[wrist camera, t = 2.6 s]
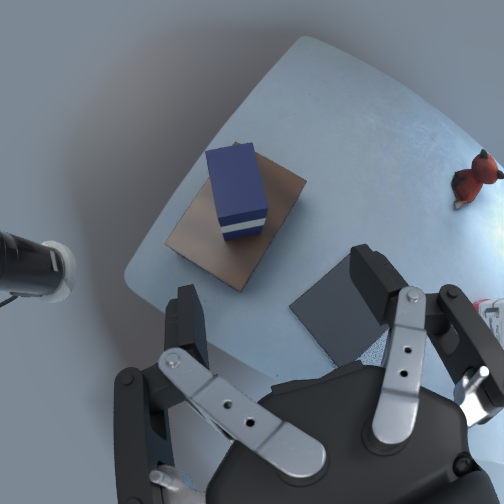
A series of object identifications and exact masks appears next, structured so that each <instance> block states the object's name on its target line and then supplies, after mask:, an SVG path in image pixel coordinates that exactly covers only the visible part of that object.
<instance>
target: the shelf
mask: <svg viewBox="0 0 504 504" xmlns="http://www.w3.org/2000/svg"><path fill="white" fill-rule="evenodd" d="M234 145H240V144H239V143H237V142H235V143H234V144H233V145H232V146H234ZM255 155H256V159H257V163H258V167H259V171H260V175H261V179H262V183H263V187H264V191H265V195H266V199H267V203H268V207H269V208H268V212H267V215H266V219H265V223H264V226H263V229H262V233H260V234H255V235H250V236H245V237H241V238H236V239H231V240H226V241H224V238H223V234H222V232H221V228H220V224H219V221H218V217H217V212H216V207H215V202H214V196H213V191H212V186H211V180H210V177H209V178H208V180H207V181H206V183H205V184H204V185H203V187H202V188H201V190H200V191H199V193H198V194H197V195H196V197H195V198H194V200H193V201H192V203H191V204H190V206H189V207H188V209H187V210H186V212H185V213H184V215H183V216H182V218H181V219H180V221H179V222H178V224H177V225H176V227H175V228H174V230H173V231H172V233H171V234H170V236H169V238H168V239H167V241H166V242H165V245H167V246H168V247H169V248H171V249H172V250H173V251H175V252H176V253H178V254H179V255H181V256H182V257H184V258H186V259H187V260H189V261H190V262H192V263H193V264H195V265H197V266H198V267H200V268H201V269H203V270H205V271H206V272H208V273H209V274H211V275H213V276H214V277H216V278H217V279H219V280H221V281H222V282H224V283H225V284H227V285H229V286H230V287H232V288H234V289H235V290H237V291H238V292H240V293H241V291H242V290H243V288H244V287H245V285H246V283H247V282H248V280H249V278H250V277H251V275H252V273H253V272H254V270H255V269H256V267H257V265H258V264H259V262H260V260H261V259H262V257H263V255H264V254H265V252H266V250H267V249H268V247H269V245H270V244H271V242H272V240H273V239H274V237H275V235H276V234H277V232H278V230H279V229H280V227H281V226H282V224H283V222H284V221H285V219H286V217H287V216H288V214H289V212H290V211H291V209H292V207H293V206H294V204H295V202H296V200H297V199H298V197H299V195H300V193H301V191H302V190H303V188H304V186H305V184H306V182H307V181H306V180H304V179H303V178H301V177H299V176H298V175H296V174H294V173H292V172H291V171H289V170H287V169H285V168H284V167H282V166H280V165H278V164H276V163H275V162H273V161H271V160H269V159H267V158H266V157H264V156H262V155H260V154H258V153H256V152H255Z"/></svg>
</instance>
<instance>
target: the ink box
mask: <svg viewBox="0 0 504 504" xmlns="http://www.w3.org/2000/svg"><path fill="white" fill-rule="evenodd" d="M472 305H473V306H474V307H475V309H476V310H477V311H478V313H479V314H480V316H481V317H482V318H483V320H484V321H485V323H486V324H487V325H488V327H489V328H490V330H491V331H492V333H493V334H494V336H495V337H496V339H497V340H498V342H499V343H500V345H501V346H502V348H504V299H486V300H481V301H478V302H475V303H473V304H472Z"/></svg>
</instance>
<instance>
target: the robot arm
mask: <svg viewBox="0 0 504 504" xmlns="http://www.w3.org/2000/svg"><path fill="white" fill-rule="evenodd" d="M349 273H350V278H351V280H352V282H353V284H354V285H355V287H356V288H357V290H358V291H359V293H360V295H361V296H362V298H363V299H364V301H365V303H366V304H367V306H368V307H369V309H370V311H371V312H372V314H373V315H374V317H375V319H376V320H377V322H378V324H379V325H380V326H383V325H385V324H388V325H389V327H390V328H389V331H388V336H387V341H386V345H385V350H384V354H383V358H382V362H381V365H380V367H379V366H374V365H363V364H362V362H361V360H358V361H355V362H352V363H349V364H346V365H343V366H340V367H338V368H336V369H335V370H333V371H332V372H330V373H328V374H326V375H325V376H323V377H321V378H319V379H309V380H293V381H289V382H285V383H281V384H278V385H273V386H271V389H272V392H271V393H270V394H267V395H266V396H265V397H263V398H262V399H261V400H259V401H258V402H257V403H256V402H255V401H253V400H252V399H251V398H249V397H248V396H247V395H245V394H244V393H243V392H241V391H240V390H239V389H237V388H236V387H235V386H233V385H232V384H231V383H229V382H228V381H226V379H224V378H223V377H222V376H220V375H218V374H216V375H214V374H213V373H211V372H210V370H209V361H208V351H207V341H206V331H205V320H204V313H203V309H202V306H201V303H200V300H199V298H198V295H197V292H196V290H195V287H194V285H193V284H191V285H187V286H182V287H178V298H177V299H172V300H170V301H169V303H168V305H167V307H166V316H165V317H166V319H165V345H164V352H163V353H162V354H161V356H160V357H159V360H158V362H157V363H156V364H155V365H153V366H151V367H149V368H147V369H144V370H142V371H140V370H138V369H137V368H134V367H129V368H125V369H123V370H122V371H120V373H119V374H118V375H117V376H116V379H115V383H114V459H115V476H116V488H117V498H118V504H500V502H499V500H498V497H497V494H496V492H495V489H494V487H493V484H492V482H491V480H490V477H489V476H488V474H487V473H486V472H485V471H484V470H483V469H482V468H481V467H480V466H479V465H478V464H477V463H476V462H475V461H474V459H473V458H472V456H471V454H470V452H469V447H468V437H467V433H468V429H469V428H471V427H473V426H474V425H476V424H479V425H482V424H485V423H487V422H488V421H489V420H490V419H492V418H493V417H494V416H495V415H496V414H497V413H499V412H500V411H501V410H502V409H503V408H504V349H503V348H502V346H501V345H500V343H499V342H498V340H497V339H496V337H495V336H494V334H493V333H492V331H491V330H490V328H489V327H488V325H487V324H486V323H485V321H484V320H483V318H482V317H481V316H480V314H479V313H478V311H477V310H476V309H475V307H474V306H473V305H472V303H471V302H470V301H469V299H468V298H467V297H466V295H465V294H464V293H463V292H462V290H461V289H460V288H458V287H457V286H455V285H451V284H447V285H444V286H442V287H441V289H440V291H439V293H432V294H424V292H423V291H422V290H421V289H419V288H417V287H413V286H409V285H408V284H407V282H406V281H405V280H404V279H403V277H402V276H401V275H400V274H399V272H398V271H397V270H396V269H394V266H393V265H392V264H390V262H389V260H388V259H387V258H386V257H385V256H384V255H382V254H381V253H379V252H377V251H374V252H373V251H372V250H371V249H370V248H369V246H368V245H367V244H362V245H358V246H354V247H352V248H351V253H350V267H349ZM64 277H65V263H64V259H63V257H62V255H61V253H60V252H59V251H58V250H57V249H55V248H53V247H48V246H45V245H42V244H39V243H35V242H33V241H30V240H27V239H24V238H21V237H18V236H15V235H12V234H10V233H6V232H4V231H1V230H0V291H7V292H10V294H11V295H14V296H12V297H11V298H9V299H7V300H5V301H3V302H1V303H0V307H2V306H4V305H6V304H8V303H10V302H11V301H13V300H14V299H16V298H17V297H18V296H21V297H42V296H43V295H52V294H54V293H56V292H57V291H58V290H59V289H60V287H61V286H62V284H63V281H64ZM453 327H454V328H453ZM455 330H456V331H455ZM456 332H457V333H458V334H457V333H456ZM427 335H428V337H429V339H430V340H431V342H432V344H433V346H434V347H435V349H436V351H437V353H438V354H439V356H440V358H441V360H442V362H443V363H444V365H445V367H446V369H447V371H448V373H449V375H450V376H451V378H452V380H453V382H454V384H455V388H454V402H453V401H452V400H450V399H447V398H445V397H443V396H441V395H439V394H437V393H435V392H432V391H430V390H428V389H426V388H424V387H422V386H420V383H421V377H422V370H423V363H424V355H425V346H426V336H427ZM458 335H459V336H458ZM183 401H185V402H186V403H187V404H188V405H190V407H191V408H193V409H194V410H195V411H196V412H197V413H198V414H199V415H200V416H201V417H202V418H203V419H204V420H206V421H207V422H208V423H209V424H210V425H211V426H212V427H213V428H214V429H215V430H216V431H217V432H218V433H219V434H220V435H221V436H223V437H224V438H225V439H226V440H227V441H229V442H230V443H231V444H232V445H231V446H230V448H229V450H228V452H227V453H226V455H225V457H224V459H223V460H222V462H221V463H220V465H219V467H218V468H217V470H216V472H215V473H214V475H213V477H212V478H211V480H210V482H209V483H208V486H207V488H206V492H199V491H198V490H197V489H196V488H195V487H194V485H193V483H192V480H191V478H190V477H189V476H188V475H187V474H186V473H184V472H182V471H181V470H179V469H177V468H175V464H174V458H173V451H172V443H171V436H170V428H169V418H168V408H170V407H172V406H174V405H176V404H178V403H181V402H183Z"/></svg>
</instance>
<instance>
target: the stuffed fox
mask: <svg viewBox="0 0 504 504" xmlns="http://www.w3.org/2000/svg"><path fill="white" fill-rule="evenodd" d="M471 168H472V169H465V170H461V171H458V172H455V175H454V179H453V180H452V188H453V191H454V193H455V196H456V201H453V202H454V204H455V207H456V208H457V209H460V208H461V207H462V206H463V205H464V204H466V202H467V203H471V202H472V201H473V200H474V199H475V197H476V196H477V194H478V193H479V191H480V190H481V188H482V186H483V183H484V184H493V183H495V182H496V181H497V179H504V173H503V172H502V171H500V170H498V167H497V164H496V163H495V161H494V159H493V158H492V157H491V156H490V155H489V154H487V152H486V151H485V150H484V149H482V150H481V153H480V154H479V155H477V156H476V157H475V158H474V160H473V161H472V167H471Z"/></svg>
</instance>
